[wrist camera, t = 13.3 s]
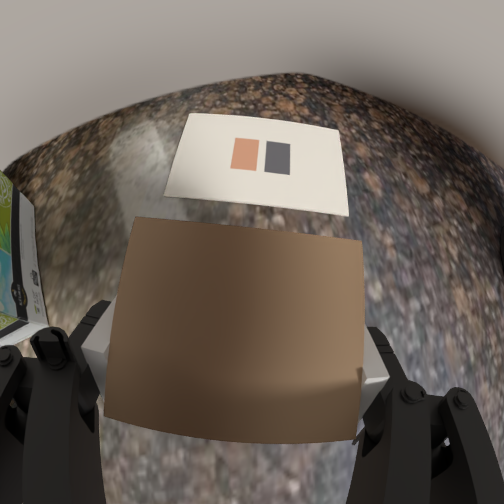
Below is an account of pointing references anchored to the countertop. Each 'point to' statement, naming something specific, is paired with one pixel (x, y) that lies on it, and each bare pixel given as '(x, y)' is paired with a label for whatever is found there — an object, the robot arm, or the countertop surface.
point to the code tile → (259, 164)
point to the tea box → (18, 268)
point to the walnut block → (237, 334)
